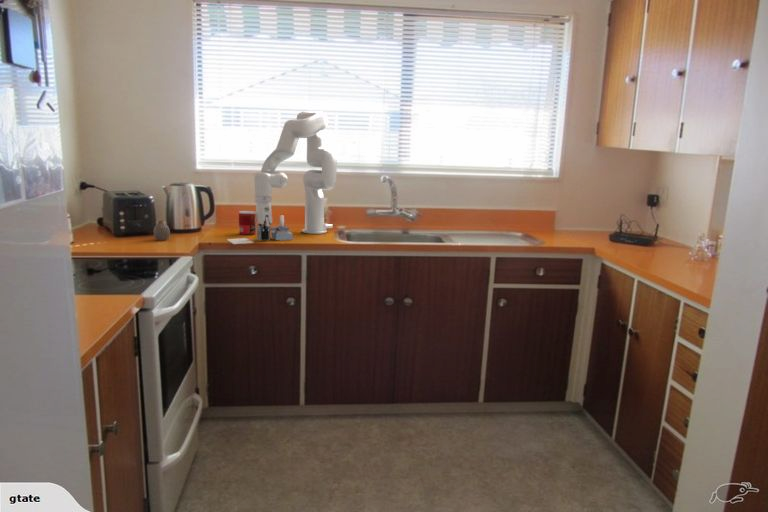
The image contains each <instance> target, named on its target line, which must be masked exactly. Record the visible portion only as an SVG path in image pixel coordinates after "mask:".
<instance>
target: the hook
mask: <svg viewBox="0 0 768 512" xmlns="http://www.w3.org/2000/svg"><path fill="white" fill-rule="evenodd" d="M264 227H265V226H264ZM275 231H290V227H289V226H287V225H284V227H282V228H280V225H275V226H271V225H270V226H269V239H268V240H270V241H271V232H275ZM257 239H258V240H262V225H258V224H257V225H256V240H257ZM258 240H257V241H258Z"/></svg>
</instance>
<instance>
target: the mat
mask: <svg viewBox="0 0 768 512" xmlns="http://www.w3.org/2000/svg"><path fill="white" fill-rule="evenodd" d="M226 240H227V241H228V242H229V243H231V244H232V245H244V244H245V245H247V244H254V241H252V240H251V239H249V238H247V237H245V238H244V237H243V238H242V237H241V238H228V239H226ZM247 240H249V241H247Z"/></svg>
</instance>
